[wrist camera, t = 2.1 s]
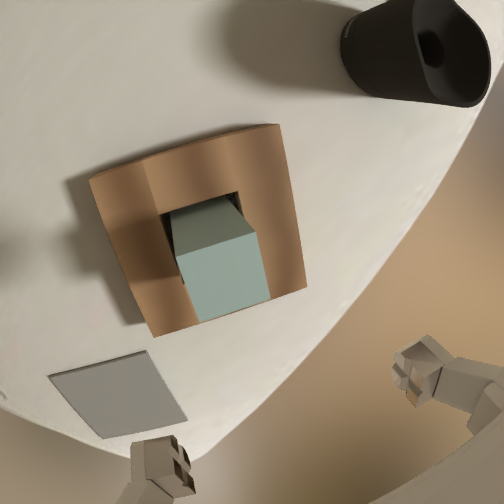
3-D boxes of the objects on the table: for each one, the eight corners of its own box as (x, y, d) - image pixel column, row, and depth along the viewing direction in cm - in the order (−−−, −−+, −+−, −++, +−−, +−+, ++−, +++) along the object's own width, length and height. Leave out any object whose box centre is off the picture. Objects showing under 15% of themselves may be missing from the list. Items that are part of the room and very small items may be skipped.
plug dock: (153, 321, 28) (153, 337, 26) (95, 174, 22) (88, 180, 19) (296, 274, 30) (307, 286, 28) (268, 123, 24) (279, 124, 22)
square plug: (186, 260, 27) (199, 322, 19) (169, 211, 25) (175, 257, 17) (236, 244, 27) (270, 299, 19) (224, 194, 25) (255, 231, 17)
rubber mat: (102, 436, 32) (102, 439, 32) (49, 375, 27) (49, 377, 27) (187, 418, 34) (187, 420, 34) (146, 350, 29) (146, 353, 29)
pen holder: (390, 4, 22) (464, -16, 13) (423, 87, 26) (501, 91, 17) (316, 22, 21) (389, -11, 12) (359, 116, 26) (441, 124, 17)
